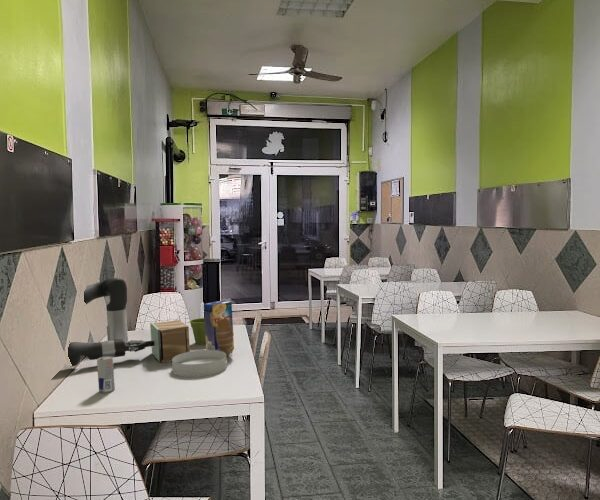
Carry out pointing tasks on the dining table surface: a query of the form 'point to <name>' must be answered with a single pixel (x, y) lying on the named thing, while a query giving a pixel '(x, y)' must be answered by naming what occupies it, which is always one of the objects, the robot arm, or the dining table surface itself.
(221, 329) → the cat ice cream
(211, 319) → the beverage box
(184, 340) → the oak storage box
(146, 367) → the dining table surface
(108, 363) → the energy drink
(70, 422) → the dining table surface
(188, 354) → the dish
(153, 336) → the box flap
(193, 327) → the plant pot
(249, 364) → the dining table surface
